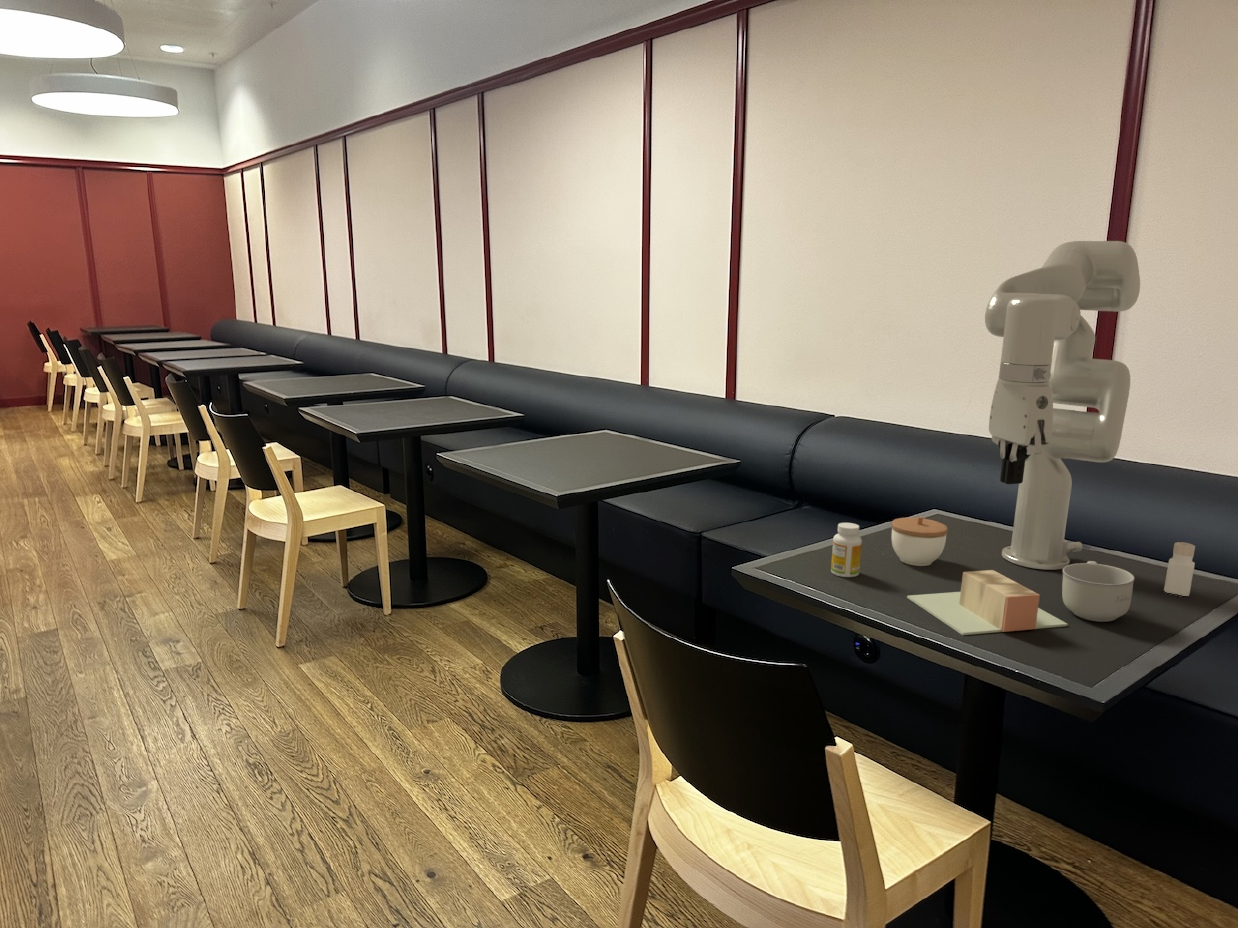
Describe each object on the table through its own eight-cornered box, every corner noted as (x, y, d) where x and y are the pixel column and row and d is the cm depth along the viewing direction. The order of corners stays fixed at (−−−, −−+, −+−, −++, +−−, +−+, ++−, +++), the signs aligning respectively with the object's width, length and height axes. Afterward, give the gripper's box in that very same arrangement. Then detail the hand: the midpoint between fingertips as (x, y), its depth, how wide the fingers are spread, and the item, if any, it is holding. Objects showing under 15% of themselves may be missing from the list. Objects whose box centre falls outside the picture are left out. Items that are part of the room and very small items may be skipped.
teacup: (1126, 632, 143) (1133, 587, 141) (1053, 618, 148) (1060, 574, 146) (1129, 606, 154) (1136, 564, 152) (1062, 593, 160) (1068, 552, 158)
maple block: (1035, 628, 142) (988, 601, 154) (1040, 594, 141) (992, 569, 152) (1003, 631, 141) (959, 604, 152) (1008, 597, 140) (963, 572, 151)
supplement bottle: (856, 569, 170) (860, 522, 168) (861, 578, 165) (865, 530, 163) (828, 567, 171) (832, 520, 169) (832, 577, 166) (836, 528, 164)
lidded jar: (912, 549, 183) (917, 507, 181) (955, 564, 174) (960, 520, 172) (877, 557, 178) (881, 513, 176) (919, 573, 169) (924, 527, 167)
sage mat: (1003, 590, 161) (1003, 588, 160) (1067, 625, 145) (1067, 623, 145) (907, 597, 156) (907, 595, 156) (962, 635, 140) (962, 632, 140)
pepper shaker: (1164, 587, 164) (1172, 539, 162) (1189, 592, 162) (1198, 544, 160) (1163, 593, 161) (1171, 545, 159) (1188, 598, 159) (1197, 549, 156)
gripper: (1078, 380, 134) (1062, 493, 139) (1013, 367, 148) (1000, 470, 153) (1037, 381, 132) (1022, 496, 137) (975, 368, 146) (963, 473, 151)
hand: (1011, 482), depth 145 cm, fingers closed
